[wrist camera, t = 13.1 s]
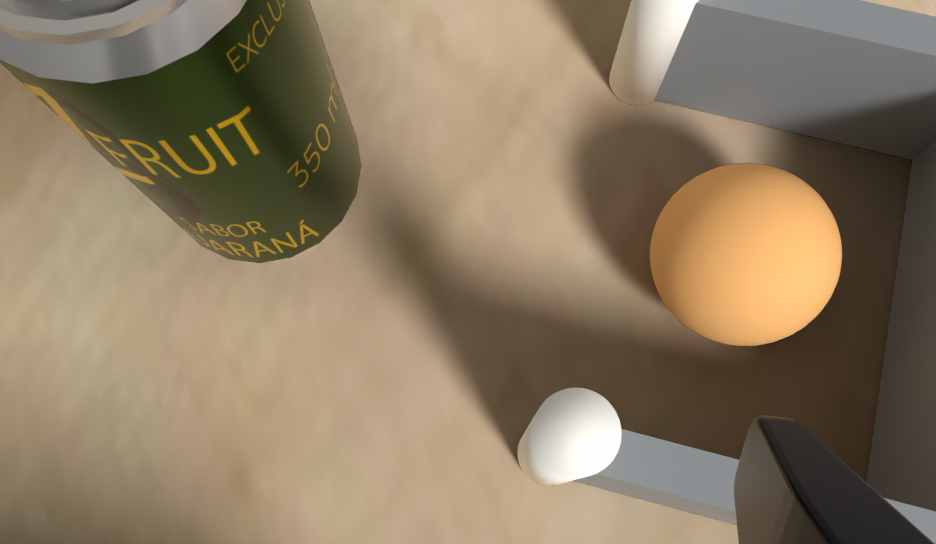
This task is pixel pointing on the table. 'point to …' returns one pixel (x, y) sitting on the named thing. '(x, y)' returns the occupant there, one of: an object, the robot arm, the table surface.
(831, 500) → the robot arm
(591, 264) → the table surface
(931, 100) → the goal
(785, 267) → the ball
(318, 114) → the beer can
